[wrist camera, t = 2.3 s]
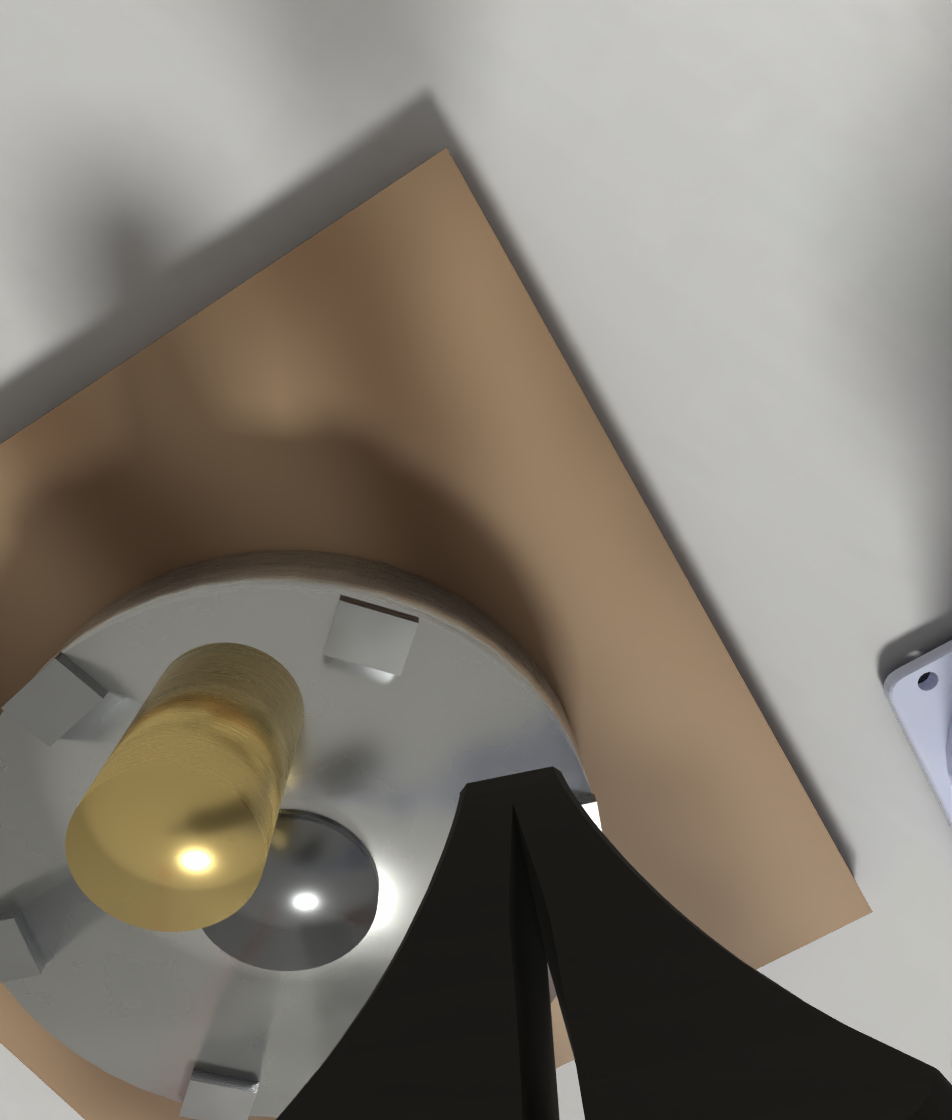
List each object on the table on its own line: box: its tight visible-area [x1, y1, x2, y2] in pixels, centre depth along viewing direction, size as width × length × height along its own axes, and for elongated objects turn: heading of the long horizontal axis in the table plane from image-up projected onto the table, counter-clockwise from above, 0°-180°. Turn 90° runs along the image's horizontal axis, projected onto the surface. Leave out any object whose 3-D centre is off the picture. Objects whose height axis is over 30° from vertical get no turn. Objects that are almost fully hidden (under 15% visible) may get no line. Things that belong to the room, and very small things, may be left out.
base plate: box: [0, 148, 872, 1120], centre depth 22 cm, size 22×22×1 cm
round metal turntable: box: [0, 550, 602, 1120], centre depth 18 cm, size 14×14×7 cm
